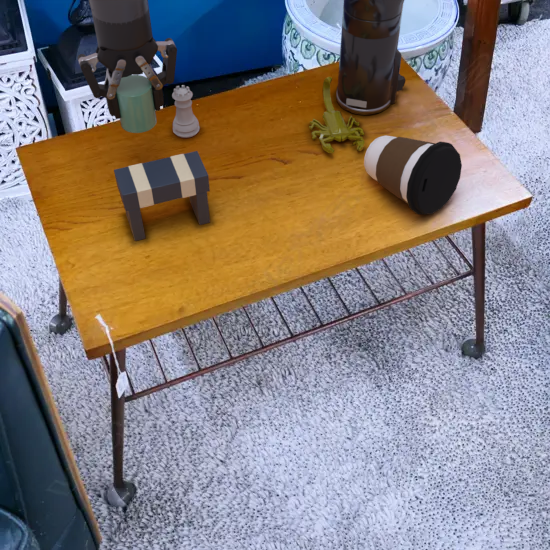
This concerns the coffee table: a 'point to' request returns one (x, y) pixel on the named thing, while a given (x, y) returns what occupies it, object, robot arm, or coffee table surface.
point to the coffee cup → (415, 170)
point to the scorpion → (335, 124)
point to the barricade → (163, 187)
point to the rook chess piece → (184, 113)
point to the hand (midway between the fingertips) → (137, 111)
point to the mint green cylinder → (136, 104)
